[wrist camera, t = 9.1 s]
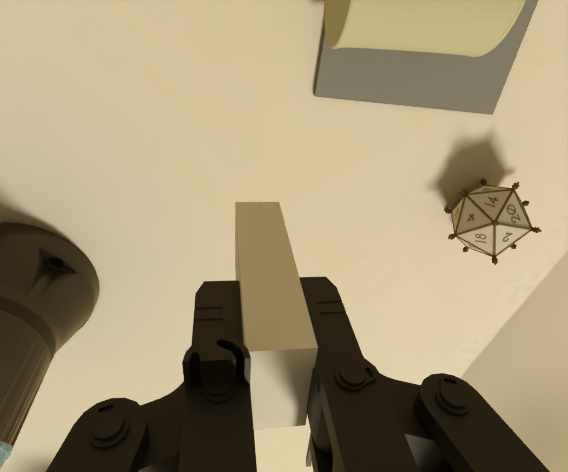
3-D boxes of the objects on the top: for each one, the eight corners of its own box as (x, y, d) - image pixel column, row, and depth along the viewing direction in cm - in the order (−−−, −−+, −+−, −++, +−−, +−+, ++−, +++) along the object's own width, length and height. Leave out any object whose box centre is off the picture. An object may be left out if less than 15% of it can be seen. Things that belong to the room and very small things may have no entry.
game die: (441, 183, 48) (443, 182, 39) (522, 173, 45) (545, 169, 36) (447, 256, 49) (451, 272, 39) (527, 251, 46) (552, 267, 36)
